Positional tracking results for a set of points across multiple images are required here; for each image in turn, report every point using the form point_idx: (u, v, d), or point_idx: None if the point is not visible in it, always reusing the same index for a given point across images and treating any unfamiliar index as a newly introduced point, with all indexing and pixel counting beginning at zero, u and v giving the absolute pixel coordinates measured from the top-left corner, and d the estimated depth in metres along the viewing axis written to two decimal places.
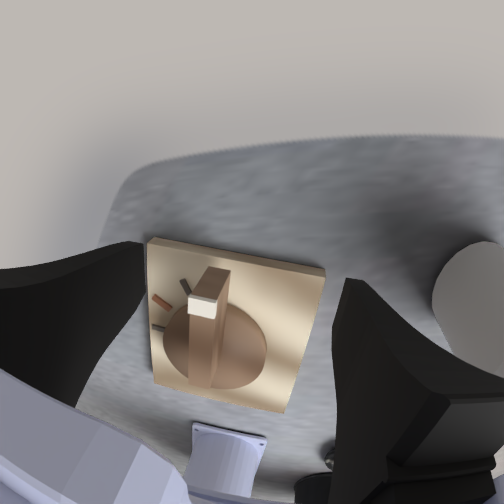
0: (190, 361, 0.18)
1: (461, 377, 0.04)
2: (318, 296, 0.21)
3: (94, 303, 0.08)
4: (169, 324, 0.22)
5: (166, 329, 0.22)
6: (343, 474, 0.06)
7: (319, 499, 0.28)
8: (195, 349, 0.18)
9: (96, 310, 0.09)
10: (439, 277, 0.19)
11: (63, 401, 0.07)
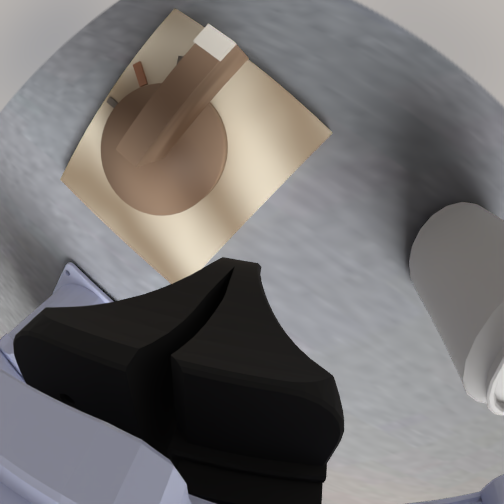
0: (142, 112, 0.13)
1: (252, 356, 0.04)
2: (312, 149, 0.17)
3: None
4: (135, 91, 0.15)
5: (126, 97, 0.16)
6: None
7: None
8: (161, 96, 0.12)
9: None
10: (436, 214, 0.17)
11: None
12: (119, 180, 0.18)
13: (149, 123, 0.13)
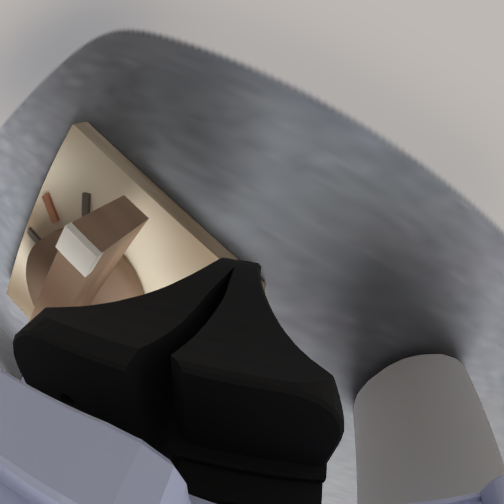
0: (36, 308, 0.11)
1: (252, 356, 0.04)
2: None
3: None
4: (43, 240, 0.13)
5: (37, 244, 0.14)
6: None
7: None
8: (47, 298, 0.10)
9: None
10: (388, 369, 0.15)
11: None
12: None
13: None
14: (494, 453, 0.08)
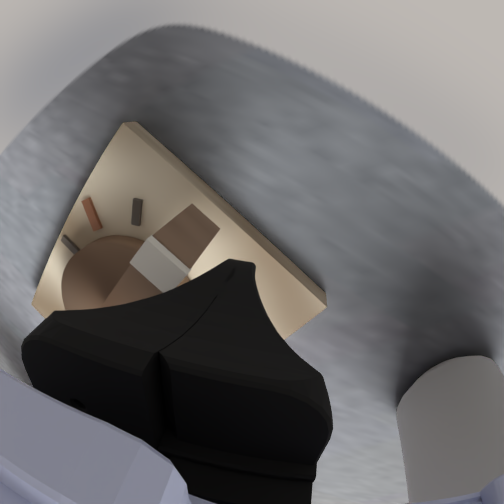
0: None
1: (241, 354, 0.05)
2: (301, 323, 0.15)
3: None
4: (86, 250, 0.13)
5: (78, 254, 0.13)
6: None
7: None
8: None
9: None
10: (434, 372, 0.15)
11: None
12: None
13: None
14: None
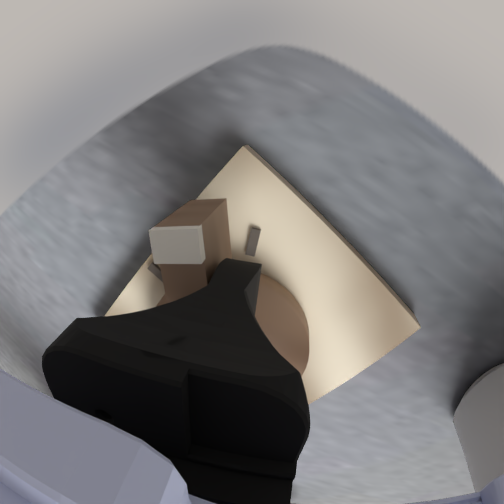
0: None
1: (219, 349, 0.05)
2: (397, 343, 0.15)
3: None
4: None
5: None
6: None
7: None
8: None
9: None
10: (489, 376, 0.15)
11: None
12: None
13: None
14: None
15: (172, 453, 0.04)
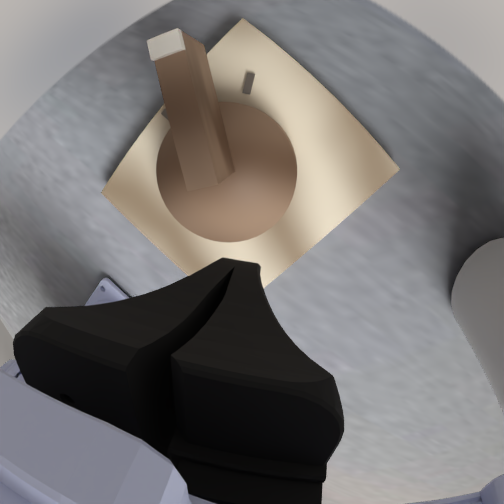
0: (176, 141, 0.13)
1: (252, 356, 0.04)
2: (380, 183, 0.16)
3: None
4: (159, 156, 0.16)
5: (158, 167, 0.17)
6: None
7: None
8: (176, 115, 0.12)
9: None
10: (481, 248, 0.17)
11: None
12: (221, 229, 0.18)
13: (190, 142, 0.13)
14: None
15: None
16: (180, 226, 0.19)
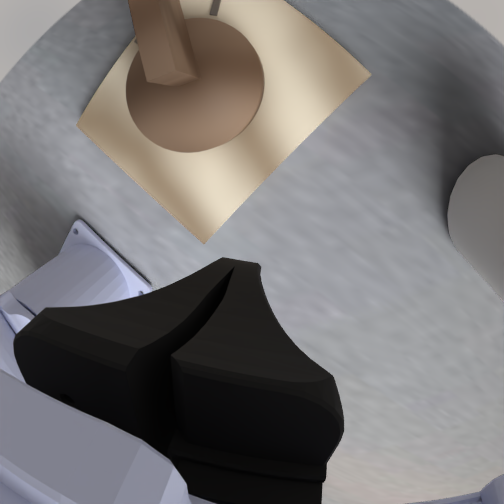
0: (139, 38, 0.11)
1: (252, 356, 0.04)
2: (352, 89, 0.15)
3: None
4: (129, 75, 0.15)
5: (127, 85, 0.15)
6: None
7: None
8: (140, 17, 0.11)
9: None
10: (473, 163, 0.15)
11: None
12: (188, 138, 0.16)
13: (151, 36, 0.11)
14: None
15: None
16: (149, 148, 0.18)
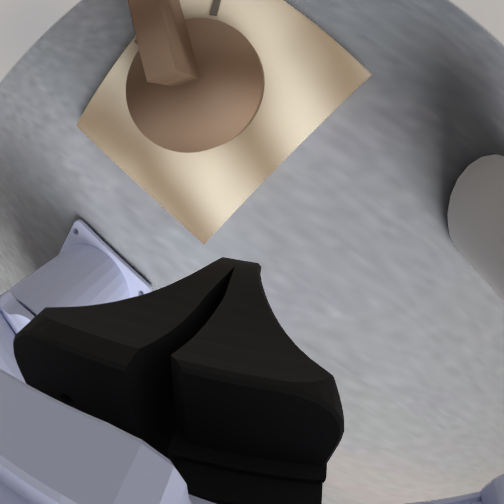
0: (139, 38, 0.11)
1: (252, 356, 0.04)
2: (352, 89, 0.15)
3: None
4: (129, 75, 0.15)
5: (127, 85, 0.15)
6: None
7: None
8: (140, 17, 0.11)
9: None
10: (473, 163, 0.15)
11: None
12: (188, 138, 0.16)
13: (151, 36, 0.11)
14: None
15: None
16: (149, 148, 0.18)
